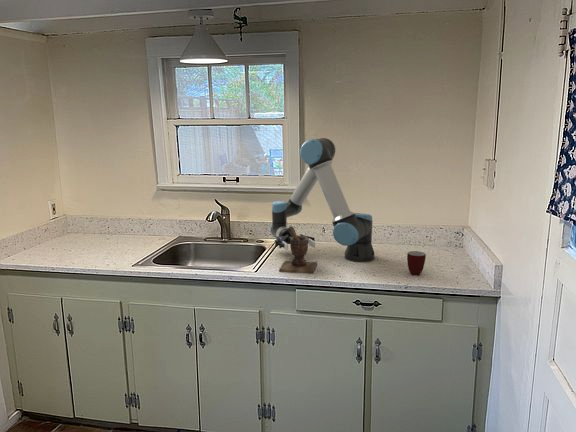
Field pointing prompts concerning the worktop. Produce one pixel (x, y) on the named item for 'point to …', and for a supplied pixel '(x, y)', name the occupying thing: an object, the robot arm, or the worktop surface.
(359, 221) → the robot arm
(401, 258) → the worktop surface
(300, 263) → the mortar and pestle
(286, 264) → the walnut cutting board
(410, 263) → the mug
